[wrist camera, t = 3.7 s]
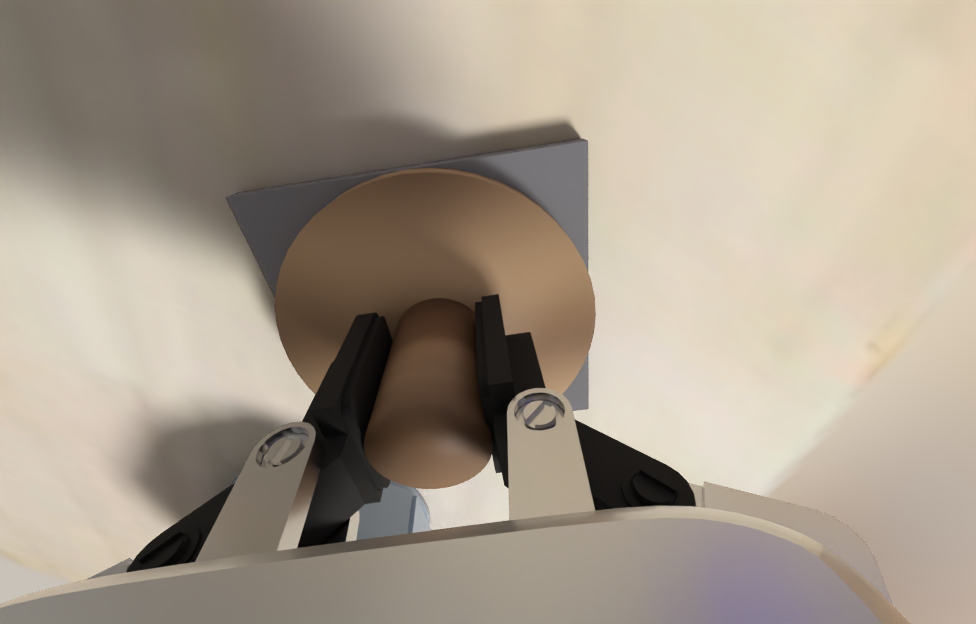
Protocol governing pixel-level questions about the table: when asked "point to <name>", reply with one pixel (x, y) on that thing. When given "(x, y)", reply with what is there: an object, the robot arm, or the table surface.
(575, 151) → the mat
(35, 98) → the table surface
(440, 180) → the lid
